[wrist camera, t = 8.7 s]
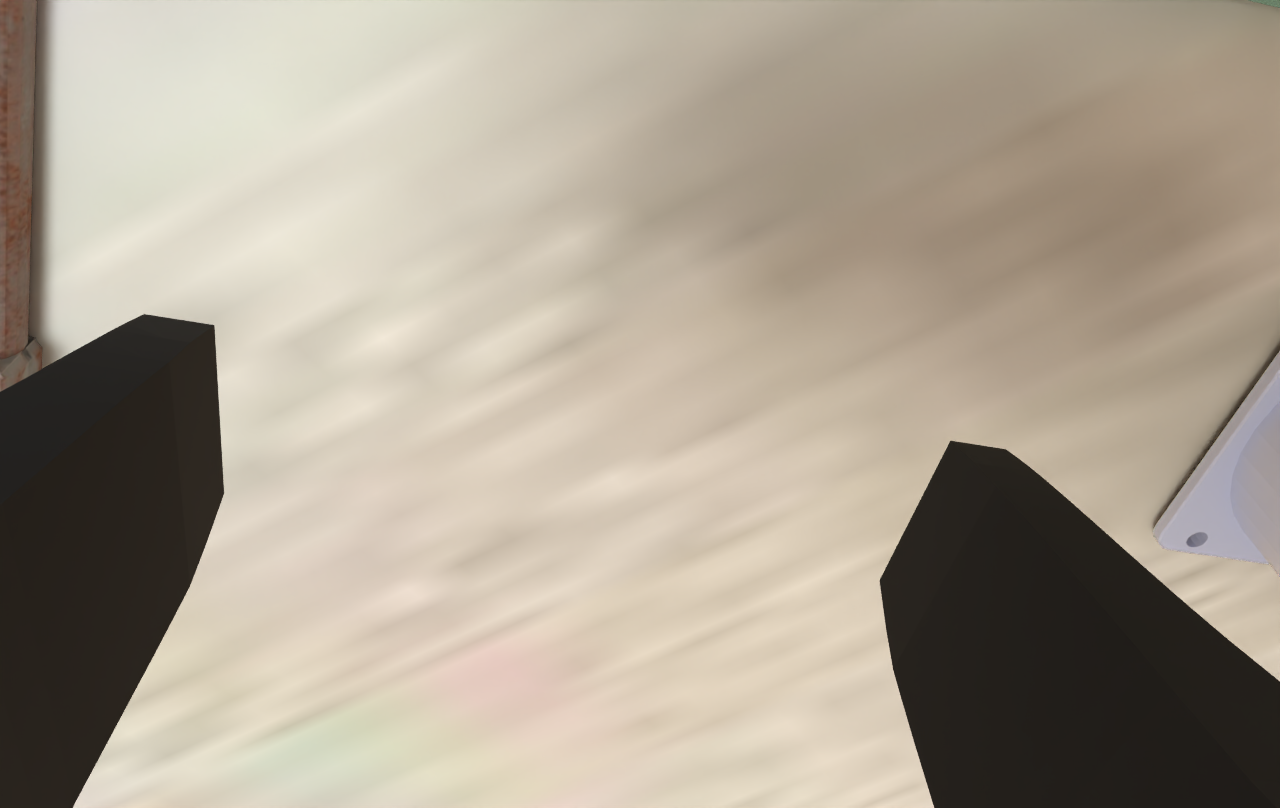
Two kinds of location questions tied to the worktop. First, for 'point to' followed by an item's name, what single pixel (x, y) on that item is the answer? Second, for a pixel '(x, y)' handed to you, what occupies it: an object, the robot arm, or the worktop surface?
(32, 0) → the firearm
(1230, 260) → the worktop surface
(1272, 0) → the board
